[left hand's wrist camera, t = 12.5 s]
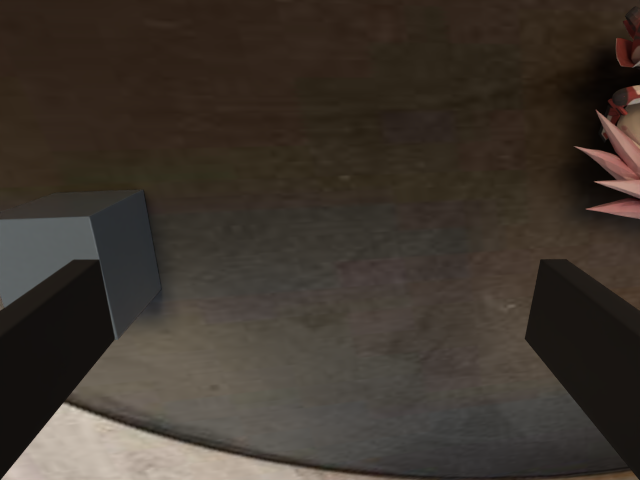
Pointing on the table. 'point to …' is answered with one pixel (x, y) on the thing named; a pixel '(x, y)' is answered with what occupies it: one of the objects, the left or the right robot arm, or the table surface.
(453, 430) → the table surface
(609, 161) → the toy
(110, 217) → the grey cube
